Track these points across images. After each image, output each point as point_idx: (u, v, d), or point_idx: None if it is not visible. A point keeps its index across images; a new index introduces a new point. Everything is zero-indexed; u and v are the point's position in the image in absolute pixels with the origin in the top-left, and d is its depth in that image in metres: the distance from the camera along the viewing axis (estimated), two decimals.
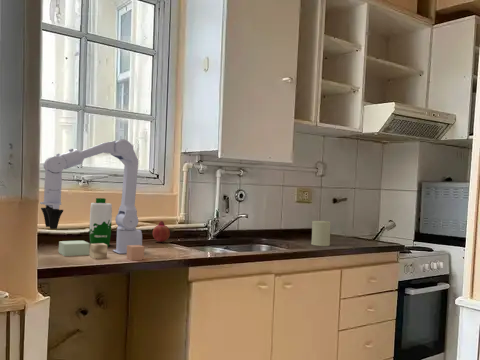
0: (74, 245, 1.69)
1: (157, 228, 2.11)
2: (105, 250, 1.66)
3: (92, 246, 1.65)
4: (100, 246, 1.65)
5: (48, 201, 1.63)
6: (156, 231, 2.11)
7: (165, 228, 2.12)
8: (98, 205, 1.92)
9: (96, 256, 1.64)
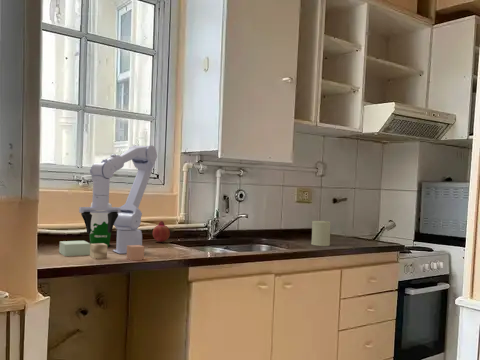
0: (75, 245, 1.69)
1: (157, 228, 2.11)
2: (105, 250, 1.66)
3: (92, 246, 1.65)
4: (100, 246, 1.65)
5: None
6: (156, 231, 2.10)
7: (165, 228, 2.12)
8: None
9: (96, 256, 1.64)
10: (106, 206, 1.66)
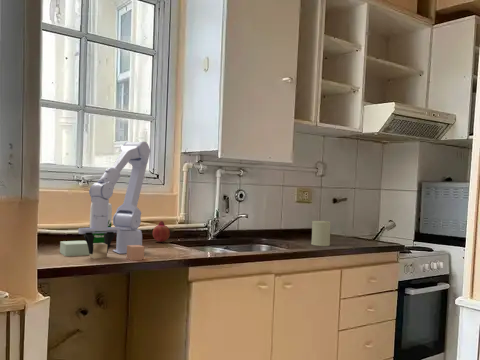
0: (75, 245, 1.69)
1: (157, 228, 2.11)
2: (105, 250, 1.66)
3: None
4: (100, 246, 1.65)
5: None
6: (156, 231, 2.11)
7: (165, 228, 2.12)
8: None
9: (96, 256, 1.64)
10: (105, 227, 1.66)
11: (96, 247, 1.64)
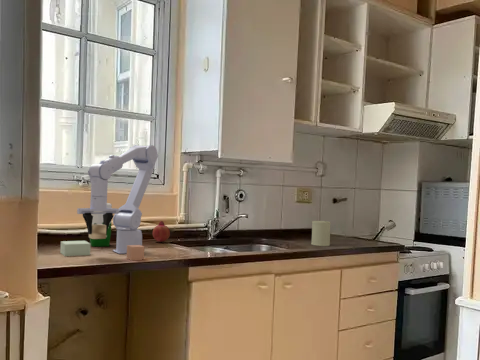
0: (75, 245, 1.69)
1: (157, 228, 2.11)
2: (104, 230, 1.67)
3: None
4: (99, 226, 1.66)
5: None
6: (156, 231, 2.11)
7: (165, 228, 2.12)
8: None
9: (95, 236, 1.65)
10: (104, 207, 1.67)
11: (95, 228, 1.65)
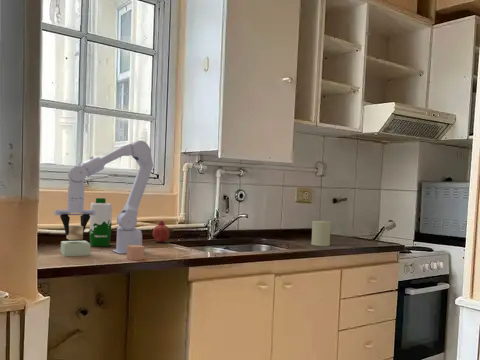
0: (74, 245, 1.69)
1: (157, 228, 2.11)
2: (81, 232, 1.72)
3: None
4: (76, 228, 1.71)
5: None
6: (156, 231, 2.11)
7: (165, 228, 2.12)
8: (98, 205, 1.92)
9: (72, 237, 1.70)
10: (81, 209, 1.72)
11: (72, 229, 1.70)
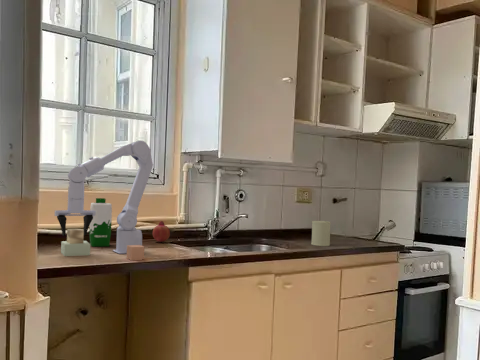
0: (75, 245, 1.69)
1: (157, 228, 2.11)
2: (81, 235, 1.72)
3: (69, 231, 1.71)
4: (76, 231, 1.71)
5: None
6: (156, 231, 2.11)
7: (165, 228, 2.12)
8: (98, 205, 1.92)
9: (73, 241, 1.70)
10: (81, 209, 1.72)
11: (72, 232, 1.70)
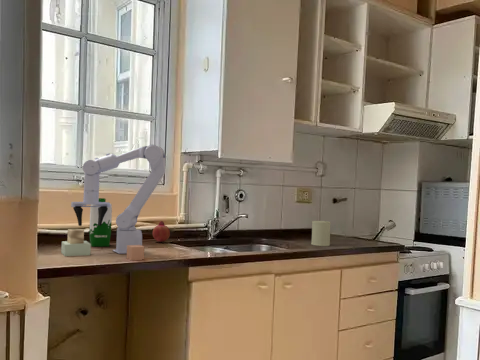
0: (75, 245, 1.69)
1: (157, 228, 2.11)
2: (82, 235, 1.72)
3: (69, 231, 1.71)
4: (77, 231, 1.71)
5: None
6: (156, 231, 2.10)
7: (165, 228, 2.12)
8: None
9: (73, 241, 1.70)
10: (96, 201, 1.80)
11: (73, 233, 1.70)
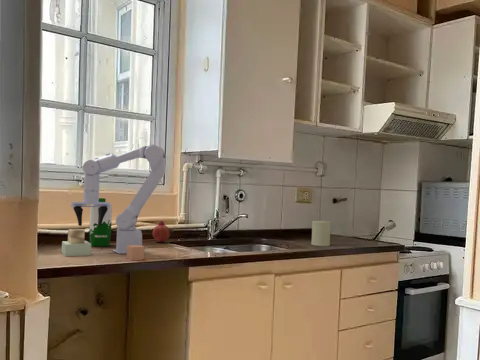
0: (75, 245, 1.69)
1: (157, 228, 2.11)
2: (82, 235, 1.72)
3: (70, 231, 1.71)
4: (77, 231, 1.71)
5: None
6: (156, 231, 2.10)
7: (165, 228, 2.12)
8: None
9: (74, 241, 1.70)
10: (96, 201, 1.80)
11: (73, 232, 1.70)
